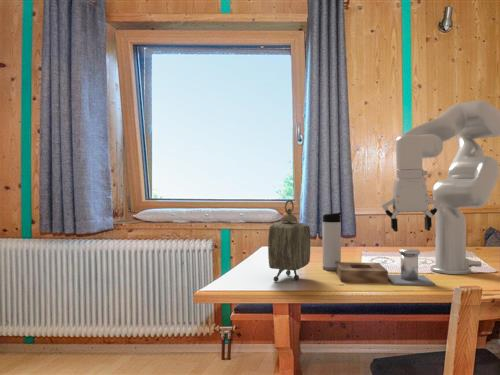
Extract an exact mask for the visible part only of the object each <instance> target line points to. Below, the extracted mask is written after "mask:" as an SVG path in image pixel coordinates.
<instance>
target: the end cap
mask: <svg viewBox="0 0 500 375" xmlns="http://www.w3.org/2000/svg"><path fill="white" fill-rule="evenodd" d="M398 253H399V254H400V275H401V279H402V280H407V281H417V280H418V275H419V255H420V254H421V252H420V249H417V248H399V249H398Z"/></svg>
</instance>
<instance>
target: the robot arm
mask: <svg viewBox="0 0 500 375" xmlns="http://www.w3.org/2000/svg"><path fill="white" fill-rule="evenodd" d="M455 136H456V142H457V146H458V149H457V153H456V154H455V156H454V157H453V160H452V161H451V163H450V165H449V168H448V171H447V177H448V178H444V179H440V180H438V181H436V182H435V183H434V185H433V186H432V190H431V191H432V198H430V197H429V192H428V186H427V182H426V179H424V176H428V174H429V173H428V170H424V168H423V159H432V158H436V157H438V156H439V155H441V153H442V152H443V150H444V142H447V141H450V140H453V138H455ZM497 137H500V110H499V109H498V108H497V107H496V106H494V105H492V104H491V103H490V102H488V101H486V100H475V101H474V100H473V101H467V102H466V101H465V102H461V103H460V102H459V103H456V104H453V105H451V106H450V107H449V108H448V109H446V110H445V111H444V112H442V113H441V114H440V115H438V116H437V117H436V118H434V119H431V120H429V121H427V122H425V123H422V124H419V125H417V126H415V127H414V128H411V129H409V130H407V131H406V132H405V133H404V134H402V135H400V136H397V137H396V139H395V154H396V155H395V156H396V157H395V158H396V159H395V161H396V180H393V185H392V186H393V187H392V197H391V199H389V200H388V201H385V202H383V203H382V204H381V208H382V210H383V211H384V214H386V215H387V216H388V217H389V218H390V228H391V230H392V231H393V232H395V233H397V232H398V231H399V230H398V229H399V228H398V218H397V216H399V214H400V213H421V212H422V213H423V214H424V230H425V231H427V232H428V231H429V232H430V231H431V228H432V218H433V216H434V215H435V263H434V264H432V265H430V270H431V271H432V272H435V273H440V274H445V275H468V274H471V273H472V267H477V268H478V267H479V268H481V267H482V261H481V260H471V259H469V258H467V221H466V220H467V219H466V216H465V215H464V213H463V211H462V210H461V208H470V209H471V208H474V209H475V208H477V209H478V208H482V207H483V206H485V205H486V204H487V203H488V201H489V199H490V197H491V195H492V193H493V191H494V189H495V187H496V184H497V182H498V179H499V177H500V165H499V162H498V161H497V159H496V158H494V157H492V156H489V155H487V156H484V154H485V152H484V149H483V148H482V146H481V145H480V144H479V143H478V142H476V139H483V138H484V139H486V138H497ZM430 204H431V205H433V206H432V208H431V209H430V210H429V208H430ZM391 205H392V210H393V211H391V210H389V208H388V207H390V206H391Z"/></svg>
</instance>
